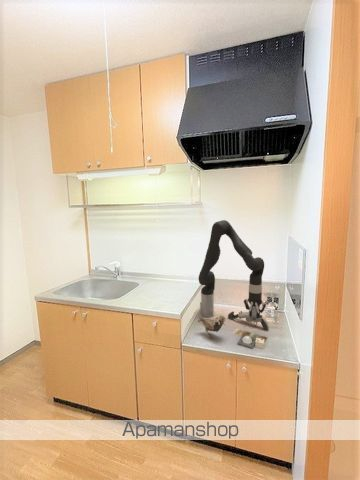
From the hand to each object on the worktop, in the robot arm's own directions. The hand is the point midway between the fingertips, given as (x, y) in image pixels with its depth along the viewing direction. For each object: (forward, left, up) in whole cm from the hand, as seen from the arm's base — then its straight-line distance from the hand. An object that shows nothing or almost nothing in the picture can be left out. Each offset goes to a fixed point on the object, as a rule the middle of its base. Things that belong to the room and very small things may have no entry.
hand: (254, 317), depth 148 cm
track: (-3, 0, -14) cm, 14 cm away
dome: (-1, -9, -14) cm, 16 cm away
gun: (-8, +13, -14) cm, 21 cm away
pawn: (0, 0, -1) cm, 1 cm away
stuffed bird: (-23, -14, -14) cm, 30 cm away
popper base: (-2, -9, -14) cm, 17 cm away
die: (+6, -8, -14) cm, 17 cm away
